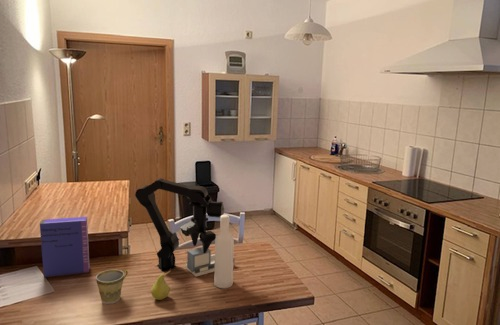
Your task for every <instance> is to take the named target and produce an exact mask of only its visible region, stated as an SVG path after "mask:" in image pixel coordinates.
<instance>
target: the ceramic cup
mask: <svg viewBox="0 0 500 325" xmlns="http://www.w3.org/2000/svg"><path fill="white" fill-rule="evenodd" d="M128 273H129V272H128V270H127V269H122V270H121V269H116V268H115V269H114V268H113V269H107V270H103V271H100V272H99V273H97V274H96V276H95V280H96V281H95V282H96V284H97V285H96V286H97V288H98V289H97V290H98V292H99V296H100V300H101V302H102V304H104V305H111V304H112V305H113V304H115V303H117V302H119V301H120V299H121V294H122V287H123V283H124V280H125V279H126V277H127V276H128Z"/></svg>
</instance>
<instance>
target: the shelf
mask: <svg viewBox="0 0 500 325" xmlns="http://www.w3.org/2000/svg"><path fill="white" fill-rule="evenodd" d="M234 266H235V257H233V267H234ZM185 269H187V271H189V272H190V273H191V274H192V275H193V276H194V277H199V276H203V275H207V274H210V273H213V272H215V253H214V254H213V253H212V254H211V264H209V265H206V266H202V267H199V268H195V271H194V272H192V271H191V270H190V269H189V268H187V263H186V264H185Z"/></svg>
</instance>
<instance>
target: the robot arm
mask: <svg viewBox="0 0 500 325" xmlns="http://www.w3.org/2000/svg"><path fill="white" fill-rule="evenodd" d="M158 190H162V191H165V192H169V193H172V194H173V193H174V194H177V195H180V196H184V197H186V198H187V199H189V200H190V202H189V204H187V205H188V207H192V210H193V211H192V212H193V213H192V217H190V221H188V222H185V224H183V225H181V226H180V230H181V233H182V235H184V236H185V237H189V236H190V238H191V241H192V244H193V246H194V247H195V246H197V243H198V239H199V241H200V242H201V244H202V246H201V247H203V253H206V252H207V250H208V249H210V248H209V247H210V246H211V244H212V243H213V241H214V242H215V238H216V236H217V233H214V232H213V231H211V230H209V227H208V226H207V222H208V221H209V217H210V218H221V215H225V214H224V213H225V208H224V202H223V201H213V199H212V197H211V196H210V194H209V192H208V190H207V188H206V187H204V185H203V186H200V185H186V184H182V183H178V182H175V181H171V180H168V179H164V178H157V179H156V180H155V181H154V182H151V184H149V185H148V184H145V185H143V186H142V187H140V188H138V189H136V191H135V193H134V195H135V198H136V200H137V201H138V203H139V204H140V205H141V206H142V207H144V208H145V210H146V211H147V213H148V216H149V217H150V219H151V222H152V224H153V225H154V228H155V230H156V231H157V234H158V236H159V242H160V243H159V244H160V249H159V250H158V251H157V252H156V255H157V259H158V264H157V267H158V268H159V270H161V271H162V272H165V271H170V270H172V269H176V268H177V267H176V255H175V253H174V252H175V251H176V250H177V248H178V247H179V245H180V241H179V240H180V238H178V235H177V233H176V232H171V231H170V229H169V228H168V225H167V223H166V221H165V219H164V217H163V215H162V213H161V211H160V210H159V207H158V204H157V202H156V194H155V192H156V191H158ZM207 230H208V231H207Z"/></svg>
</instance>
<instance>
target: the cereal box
mask: <svg viewBox="0 0 500 325" xmlns="http://www.w3.org/2000/svg"><path fill="white" fill-rule="evenodd" d="M39 230H40V231H39V233H40V244H41V246H40V247H41V257H42V269H43V270H42V271H43V272H42V273H43V278H49V277H50V278H51V277H60V276H67V275H76V274H85V273H90V265H91V264H90V251H89V250H90V249H89V247H90V246H89V245H90V244H89V228H88V216H81V217H80V216H79V217H78V216H77V217H64V218H63V217H62V218H61V217H60V218H51V219H49V218H48V219H41V221H40V222H39Z"/></svg>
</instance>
